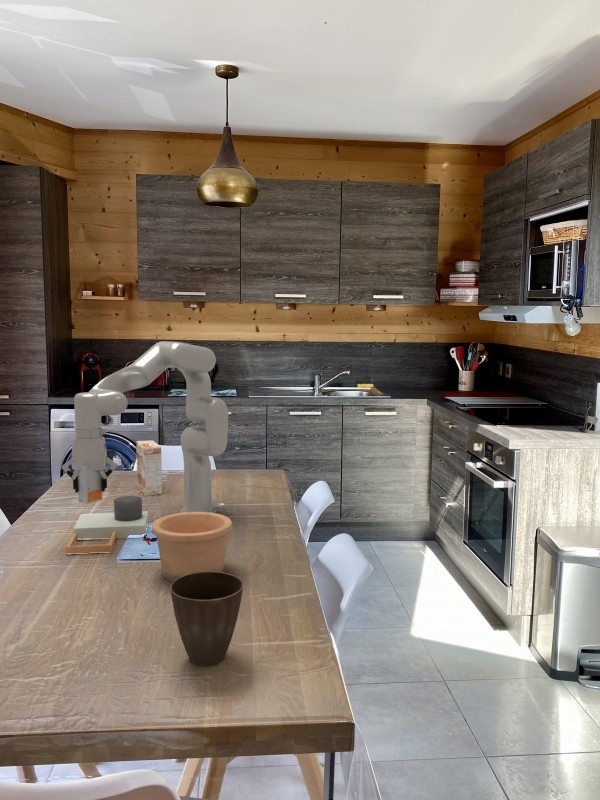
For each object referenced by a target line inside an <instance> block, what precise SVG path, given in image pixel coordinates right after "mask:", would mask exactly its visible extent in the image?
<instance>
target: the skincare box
mask: <svg viewBox="0 0 600 800" xmlns="http://www.w3.org/2000/svg"><path fill="white" fill-rule="evenodd" d="M101 479H102V475H101V474H100V472H99V471H93V470H92V467H91V465H82V470H81V471H79V473H78V492H77V501H78V503H81V504H85V505H88V504H92V503H96V502H101V501H103V492H102V490H101Z"/></svg>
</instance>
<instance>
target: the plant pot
mask: <svg viewBox="0 0 600 800" xmlns="http://www.w3.org/2000/svg"><path fill="white" fill-rule="evenodd" d="M169 587H170V588H169V589H170V595H171V596H170V597H171V600H172V601H171V602H172V606H173V607H172V608H173V613H174V617H175V622H176V624H177V625H176V626H177V629H178V631H179V635H180V639H181V642H182V645H183V647H184V649H185V652H186V655H187V657H188V659H189V661H190V662H191V663H192V664H194V665H195V666H200V667H210V666H211V667H212V666H215V665H218V664H220V663H222V662H223V661H224V659H225V657H226V655H227V652H228V649H229V647H230V645H231V641H232V638H233V635H234V632H235V630H236V629H235V628H236V625H237V621H238V616H239V613H240V609H241V603H242V596H243V590H244V582H243V581H242V579H241V578H240V577H238V576H236V575H234V574H232V573H227V572H224V571H223V572H197V573H191V574H188V575H184V576H182V577H180V578H178V579H176V580H175V581H174V582H171V584H170V585H169Z"/></svg>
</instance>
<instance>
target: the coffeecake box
mask: <svg viewBox="0 0 600 800" xmlns="http://www.w3.org/2000/svg"><path fill="white" fill-rule="evenodd" d="M135 444H136V476H137V478H136V479H137V487H138V488H137V489H138V490H139V491H140V492H141V494H143V495H144V496H145V497H147V496H146V495H154V496H158V495H157V494H162V495H163V472H162V470H163V469H162V468H163V467H162V466H163V465H162V462H163V461H162V446H161V445H160V444H158V443H157V442H155V441H154V440H153V439H152V440H136V442H135Z"/></svg>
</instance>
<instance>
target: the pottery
mask: <svg viewBox="0 0 600 800" xmlns="http://www.w3.org/2000/svg"><path fill="white" fill-rule="evenodd" d="M232 529H233V522H232V520H231V518H230V517H228V516H226V515H224V514H220V513H217V512H216V513H211V512H183V513H180V512H178V513H177V512H176V513H172V514H169V515H165V516H162V517H160V518H157V519H156V520H154V522H153V523H152V524H151V532H152V535H154V536H155V537H156V541H157V548H158V552H159V553H158V554H159V558H160V559H159V560H160V566H161V571H162V572H161V573H162V577H163V578H164V579H166V580H167V582H171V583H173V582H174V581H175V580H176V579H178V578H180V577H182V576H184V575H188V574H191V573H197V572H223V573H224V564H225V558H226V553H227V551H226V550H227V544H228V536H229V535H228V534H229V533H230V532H231V530H232Z"/></svg>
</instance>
